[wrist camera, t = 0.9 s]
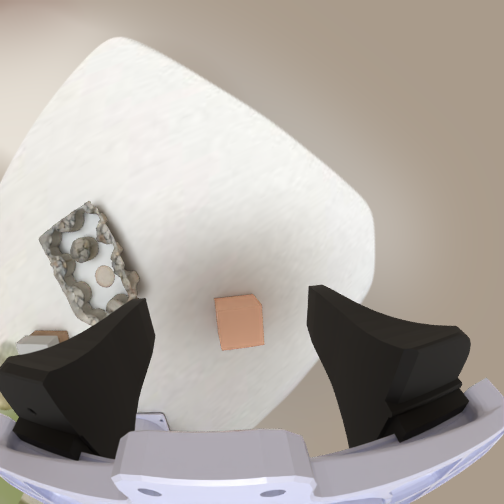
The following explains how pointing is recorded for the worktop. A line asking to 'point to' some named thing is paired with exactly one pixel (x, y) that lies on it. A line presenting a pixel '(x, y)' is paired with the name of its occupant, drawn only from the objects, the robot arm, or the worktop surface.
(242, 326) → the terracotta cube
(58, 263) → the egg carton
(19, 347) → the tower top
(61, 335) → the tower base
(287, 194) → the worktop surface
